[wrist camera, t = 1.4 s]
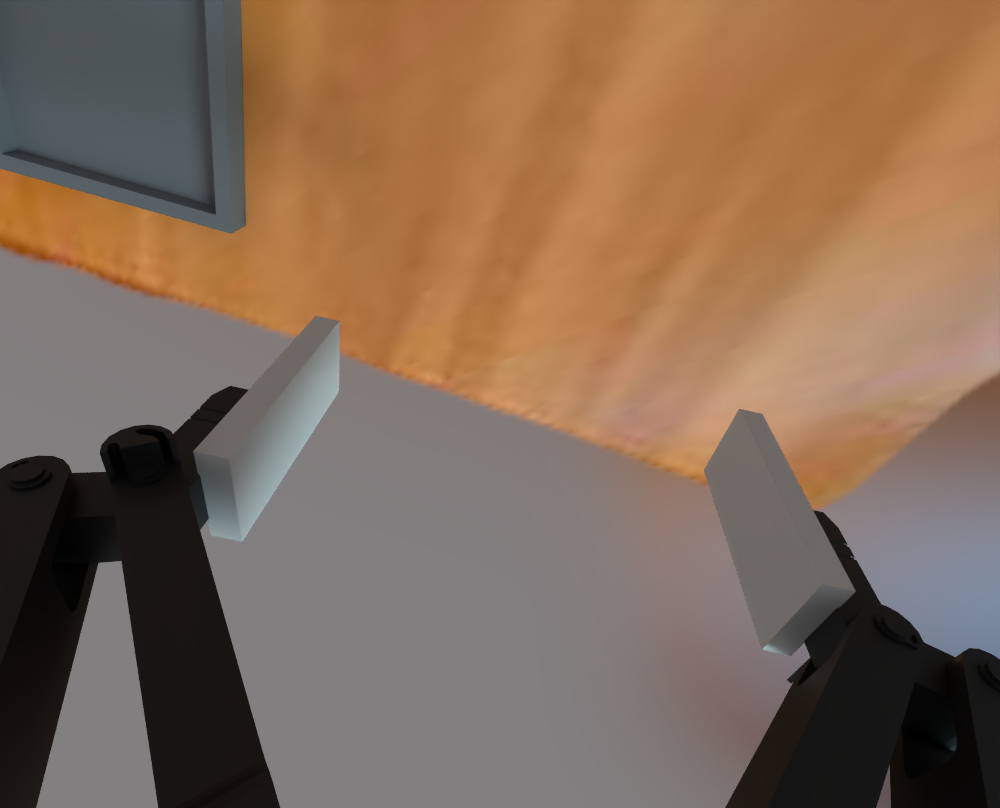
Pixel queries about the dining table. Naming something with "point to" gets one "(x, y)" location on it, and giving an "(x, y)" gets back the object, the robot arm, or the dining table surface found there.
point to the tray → (128, 102)
